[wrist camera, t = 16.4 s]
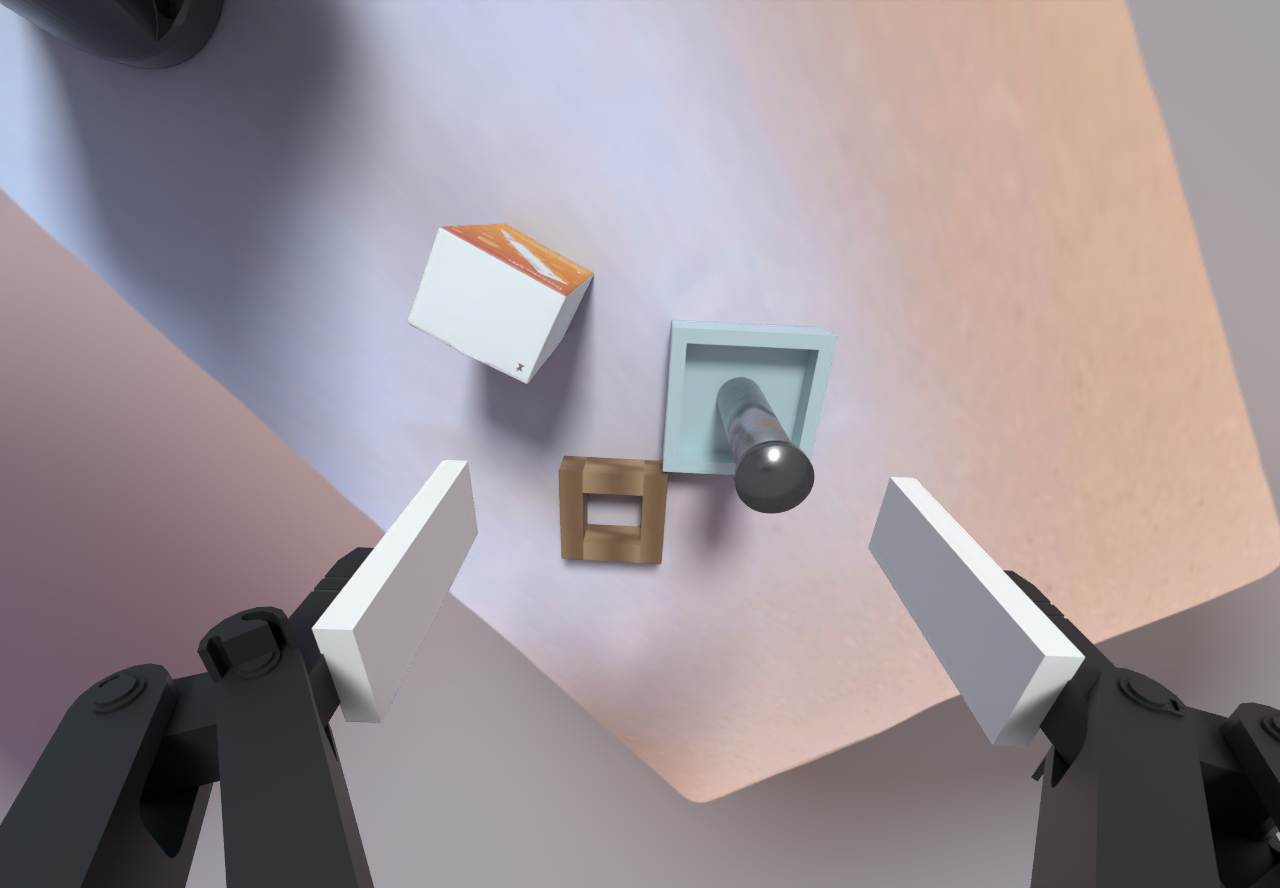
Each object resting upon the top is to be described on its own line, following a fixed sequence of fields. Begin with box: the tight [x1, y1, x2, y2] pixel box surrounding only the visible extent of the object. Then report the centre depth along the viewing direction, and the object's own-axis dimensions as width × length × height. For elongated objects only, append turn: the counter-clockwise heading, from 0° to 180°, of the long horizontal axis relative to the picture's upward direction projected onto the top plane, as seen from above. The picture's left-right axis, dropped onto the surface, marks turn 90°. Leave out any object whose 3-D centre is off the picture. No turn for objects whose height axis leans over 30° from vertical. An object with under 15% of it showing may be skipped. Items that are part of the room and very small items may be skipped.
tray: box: [663, 320, 837, 475], centre depth 43 cm, size 13×13×3 cm
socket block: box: [559, 456, 668, 564], centre depth 48 cm, size 10×10×3 cm
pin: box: [717, 377, 814, 513], centre depth 37 cm, size 5×5×15 cm
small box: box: [407, 224, 594, 384], centre depth 35 cm, size 8×6×13 cm
